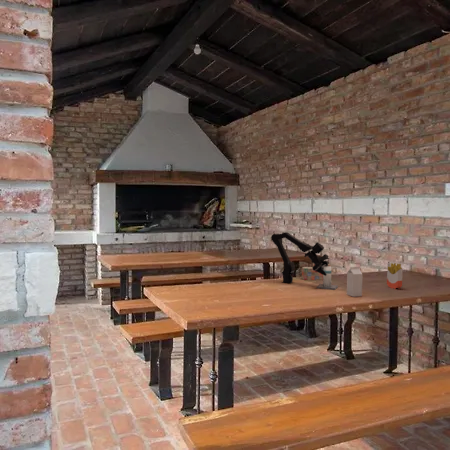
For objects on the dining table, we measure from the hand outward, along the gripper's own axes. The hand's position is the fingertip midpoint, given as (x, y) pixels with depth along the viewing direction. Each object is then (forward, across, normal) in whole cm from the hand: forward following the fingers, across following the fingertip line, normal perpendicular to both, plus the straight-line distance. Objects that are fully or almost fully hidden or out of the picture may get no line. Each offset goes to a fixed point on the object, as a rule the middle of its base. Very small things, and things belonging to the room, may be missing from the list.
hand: (328, 274), depth 305 cm
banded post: (+6, 0, +6) cm, 8 cm away
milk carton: (+23, -13, -9) cm, 28 cm away
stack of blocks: (-7, +27, +21) cm, 35 cm away
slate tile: (+6, 0, +7) cm, 10 cm away
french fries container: (+35, +28, -21) cm, 49 cm away
